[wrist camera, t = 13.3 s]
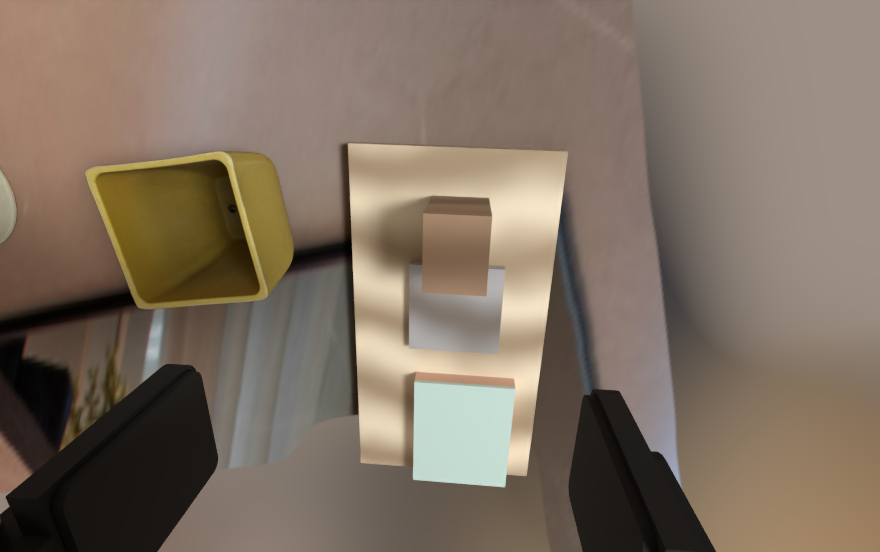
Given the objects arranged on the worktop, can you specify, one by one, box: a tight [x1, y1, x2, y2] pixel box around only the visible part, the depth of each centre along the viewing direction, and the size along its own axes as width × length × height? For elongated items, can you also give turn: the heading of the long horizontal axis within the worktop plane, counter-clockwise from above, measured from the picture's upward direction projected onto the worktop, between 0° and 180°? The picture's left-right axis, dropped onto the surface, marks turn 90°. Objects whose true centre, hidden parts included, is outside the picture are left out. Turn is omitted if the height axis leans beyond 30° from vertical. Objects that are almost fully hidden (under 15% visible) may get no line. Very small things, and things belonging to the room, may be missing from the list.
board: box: [348, 142, 568, 476], centre depth 35 cm, size 28×15×1 cm, turn 178°
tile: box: [413, 372, 516, 487], centre depth 37 cm, size 2×8×10 cm
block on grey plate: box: [409, 195, 505, 354], centre depth 30 cm, size 12×7×6 cm, turn 178°
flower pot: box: [85, 151, 294, 309], centre depth 29 cm, size 9×9×9 cm
